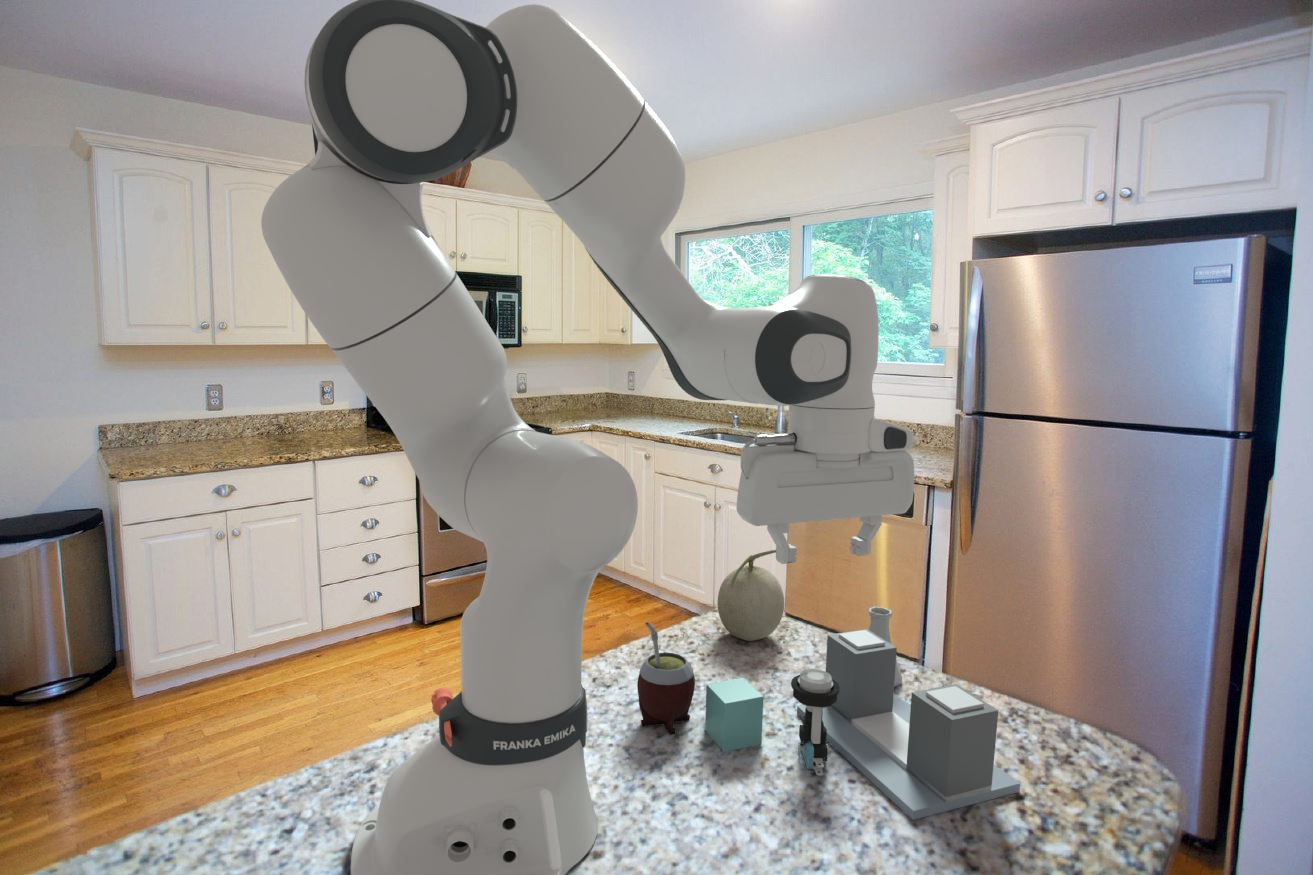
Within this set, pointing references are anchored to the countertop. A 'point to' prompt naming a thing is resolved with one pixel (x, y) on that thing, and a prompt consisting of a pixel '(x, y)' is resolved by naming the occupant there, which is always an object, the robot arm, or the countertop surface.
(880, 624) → the flask
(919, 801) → the gray block stand
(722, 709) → the block
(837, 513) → the robot arm
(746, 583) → the fruit
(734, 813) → the countertop surface
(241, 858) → the countertop surface
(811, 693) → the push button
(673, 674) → the mate gourd
